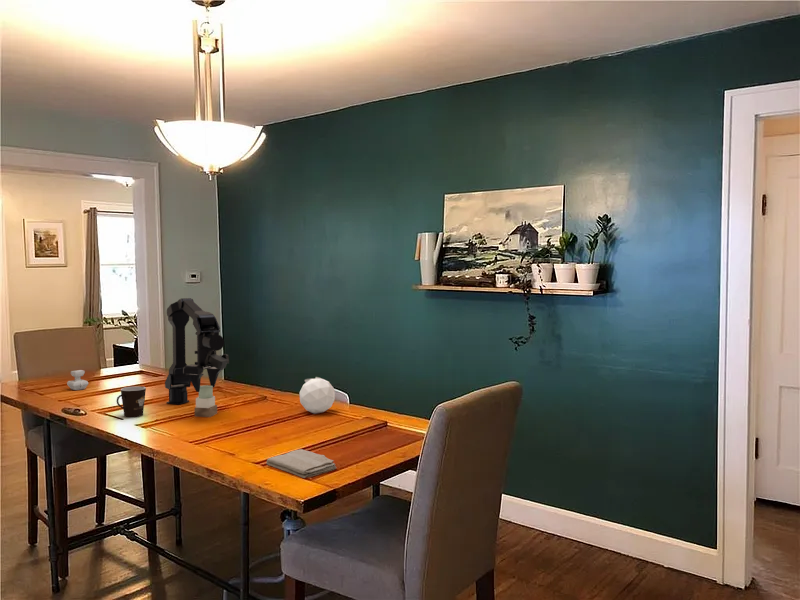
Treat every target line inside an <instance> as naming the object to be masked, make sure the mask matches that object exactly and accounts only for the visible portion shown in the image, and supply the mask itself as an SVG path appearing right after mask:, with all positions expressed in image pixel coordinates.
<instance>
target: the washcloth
mask: <svg viewBox="0 0 800 600" xmlns="http://www.w3.org/2000/svg"><path fill="white" fill-rule="evenodd" d="M266 465H267V466H269V467H270V466H271V467H273V468H275V469H279V470H282V471H284V472H286V473H290V474H292V475H294V476H297V477H300V478H303V479H306V478H310V477H314V476H318V475H321V474H324V473H328V472H331V471H334V470H336V469H337V466H336V463H335V462H334V459H330V458H328V457H326V456H325V455H324V454H319V453H315V452H313V451H309V450H305V449H302V448H301V449H296V450H292V451H288V452H287V453H284V454H280V455H275V456H273V457H269V458H267V460H266Z"/></svg>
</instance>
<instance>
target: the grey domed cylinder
mask: <svg viewBox="0 0 800 600" xmlns="http://www.w3.org/2000/svg"><path fill="white" fill-rule="evenodd" d="M213 388H214V387H213V386H211V385H207V384H206V385H205V384H204V385H200V391H199V392H198V397H199V398H201V399H207V398H212V397H213V396H214V394H213V390H214V389H213Z"/></svg>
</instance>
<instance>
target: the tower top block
mask: <svg viewBox="0 0 800 600" xmlns="http://www.w3.org/2000/svg"><path fill="white" fill-rule="evenodd" d="M215 405H216V396H215V395H213V397H212V398H207V399H201V398H199V396H197V397H195V407H196V408H210V407H212V406H215Z"/></svg>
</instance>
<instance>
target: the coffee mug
mask: <svg viewBox="0 0 800 600" xmlns="http://www.w3.org/2000/svg"><path fill="white" fill-rule="evenodd" d="M146 391H147V387H145V386H125V387H122V388H121V389H120V395H118V396H117V398H116V404H117V406H118V407H120V408H121V409H122V410H123V415H124V417H125V418H139V417H143V415H144V410H145V409H144V408H145V398H146ZM120 398H121V402H122V405H121V404H120V403H119V399H120Z"/></svg>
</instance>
